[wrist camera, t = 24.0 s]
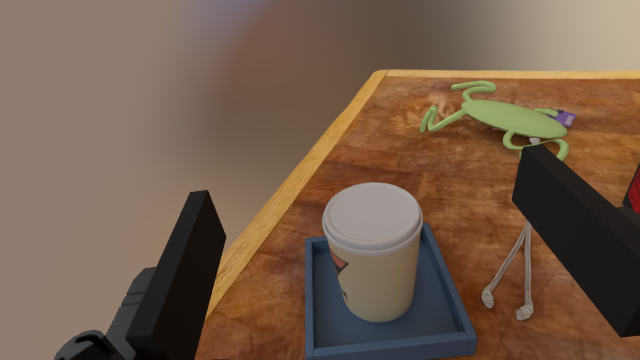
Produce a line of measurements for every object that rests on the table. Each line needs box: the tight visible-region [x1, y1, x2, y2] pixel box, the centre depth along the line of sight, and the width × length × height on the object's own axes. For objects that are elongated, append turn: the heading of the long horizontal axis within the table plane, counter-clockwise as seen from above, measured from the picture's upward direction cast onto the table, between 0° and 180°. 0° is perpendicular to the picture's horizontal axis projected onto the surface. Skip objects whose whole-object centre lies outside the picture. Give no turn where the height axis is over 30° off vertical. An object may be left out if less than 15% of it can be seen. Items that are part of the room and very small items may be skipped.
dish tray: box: [305, 223, 478, 360], centre depth 39 cm, size 16×16×3 cm
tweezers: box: [482, 220, 533, 320], centre depth 41 cm, size 18×5×2 cm, turn 146°
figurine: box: [420, 81, 576, 161], centre depth 64 cm, size 18×27×6 cm
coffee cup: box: [322, 183, 423, 323], centre depth 36 cm, size 9×9×12 cm
